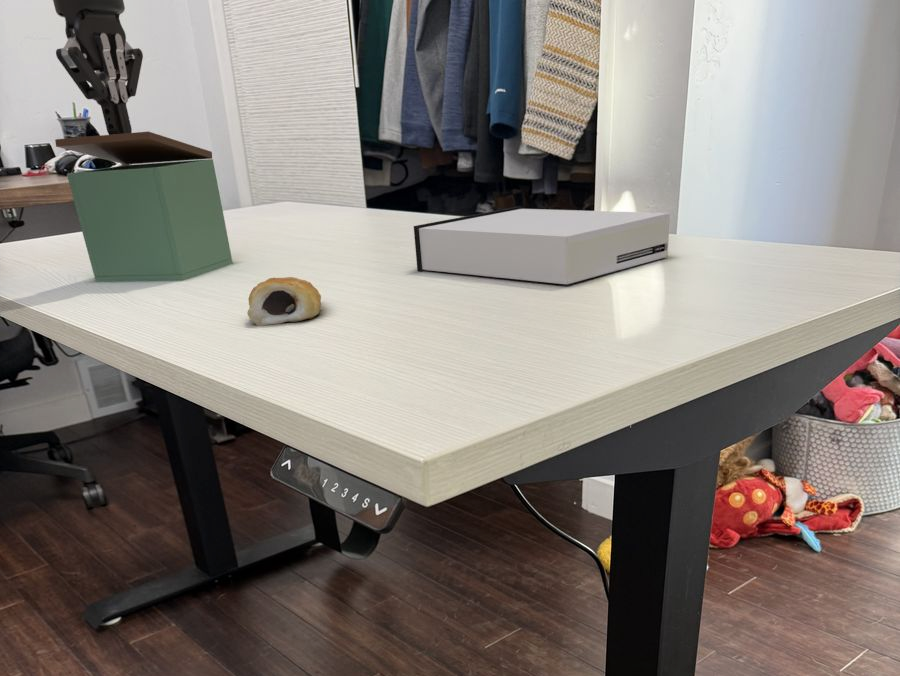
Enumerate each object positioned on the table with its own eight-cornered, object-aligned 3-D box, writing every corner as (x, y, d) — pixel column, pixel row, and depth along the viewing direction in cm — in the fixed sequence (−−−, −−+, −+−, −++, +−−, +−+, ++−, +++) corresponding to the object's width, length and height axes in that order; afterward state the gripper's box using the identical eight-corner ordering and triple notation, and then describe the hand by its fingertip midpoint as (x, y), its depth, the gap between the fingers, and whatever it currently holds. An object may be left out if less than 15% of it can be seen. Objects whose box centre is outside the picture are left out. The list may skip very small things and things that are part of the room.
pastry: (263, 308, 88) (257, 268, 87) (328, 303, 88) (323, 263, 86) (248, 328, 80) (240, 285, 78) (319, 323, 80) (313, 280, 78)
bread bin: (183, 281, 107) (158, 167, 101) (95, 283, 112) (66, 173, 105) (233, 264, 117) (213, 159, 110) (150, 266, 121) (126, 165, 115)
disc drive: (519, 248, 110) (518, 205, 108) (668, 258, 95) (671, 209, 93) (416, 272, 100) (412, 226, 98) (565, 288, 85) (565, 234, 83)
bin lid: (149, 139, 99) (148, 131, 99) (55, 146, 103) (54, 139, 103) (212, 158, 110) (212, 151, 110) (125, 164, 114) (125, 158, 114)
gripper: (92, -27, 102) (130, 138, 111) (9, -38, 91) (59, 146, 100) (144, -35, 100) (179, 134, 108) (65, -48, 89) (111, 141, 98)
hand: (121, 139), depth 104 cm, fingers closed
